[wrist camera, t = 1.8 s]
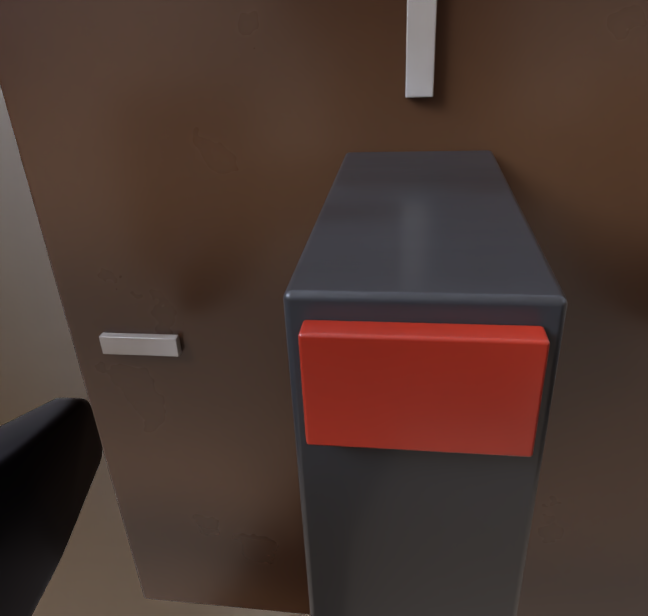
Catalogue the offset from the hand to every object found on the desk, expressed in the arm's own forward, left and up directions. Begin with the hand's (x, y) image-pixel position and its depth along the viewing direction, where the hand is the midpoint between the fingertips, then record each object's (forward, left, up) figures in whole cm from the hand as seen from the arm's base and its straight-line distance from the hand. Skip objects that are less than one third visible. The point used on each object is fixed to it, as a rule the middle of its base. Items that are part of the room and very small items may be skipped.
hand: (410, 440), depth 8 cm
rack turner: (0, 0, -2) cm, 2 cm away
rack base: (0, 0, -5) cm, 5 cm away
